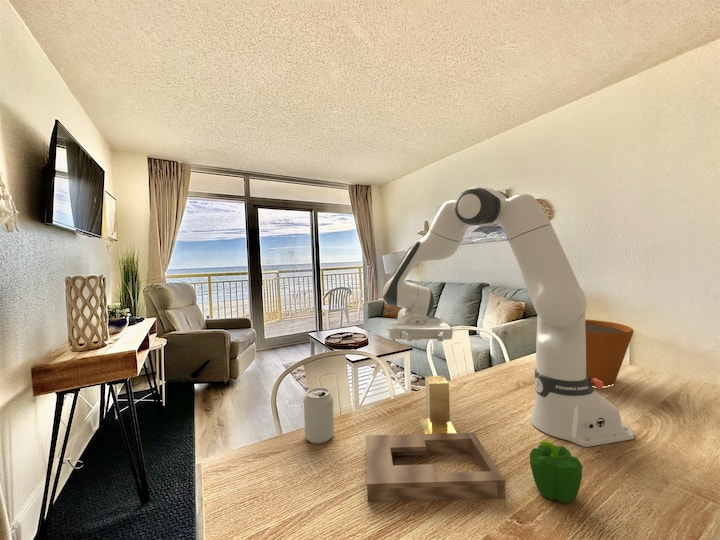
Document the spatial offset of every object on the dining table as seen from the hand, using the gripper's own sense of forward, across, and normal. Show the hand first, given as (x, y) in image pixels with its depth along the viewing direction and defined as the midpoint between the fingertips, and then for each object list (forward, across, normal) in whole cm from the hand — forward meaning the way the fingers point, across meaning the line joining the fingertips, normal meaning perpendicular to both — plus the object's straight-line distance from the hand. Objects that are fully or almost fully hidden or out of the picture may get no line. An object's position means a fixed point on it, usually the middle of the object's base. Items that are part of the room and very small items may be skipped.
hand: (425, 338), depth 92 cm
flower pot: (-15, +64, +20) cm, 69 cm away
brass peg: (+12, +1, +21) cm, 25 cm away
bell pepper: (+35, +17, +20) cm, 44 cm away
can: (+12, -30, +23) cm, 40 cm away
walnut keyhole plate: (+27, -6, +21) cm, 35 cm away
